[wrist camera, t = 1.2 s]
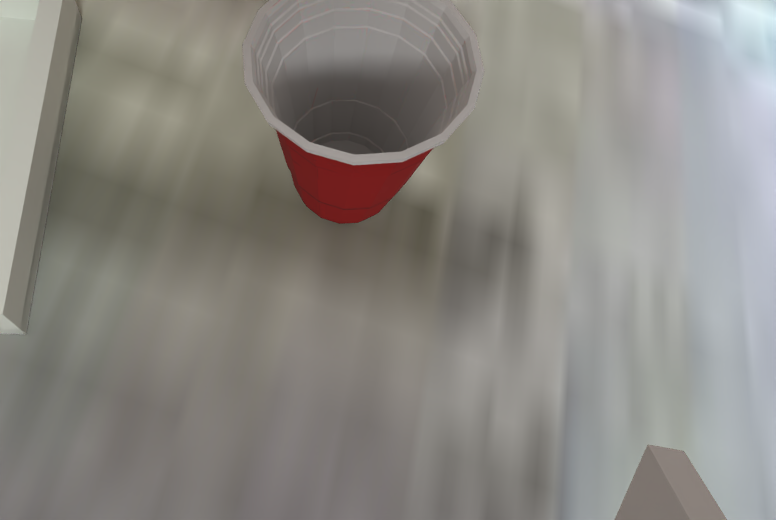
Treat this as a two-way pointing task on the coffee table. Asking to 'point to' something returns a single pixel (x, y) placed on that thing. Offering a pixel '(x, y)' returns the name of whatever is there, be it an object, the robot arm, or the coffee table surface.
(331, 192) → the plastic cup
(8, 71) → the tray
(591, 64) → the coffee table surface
